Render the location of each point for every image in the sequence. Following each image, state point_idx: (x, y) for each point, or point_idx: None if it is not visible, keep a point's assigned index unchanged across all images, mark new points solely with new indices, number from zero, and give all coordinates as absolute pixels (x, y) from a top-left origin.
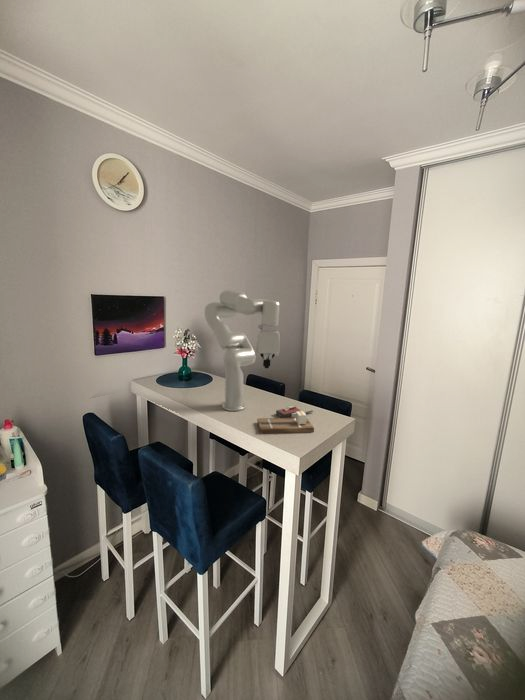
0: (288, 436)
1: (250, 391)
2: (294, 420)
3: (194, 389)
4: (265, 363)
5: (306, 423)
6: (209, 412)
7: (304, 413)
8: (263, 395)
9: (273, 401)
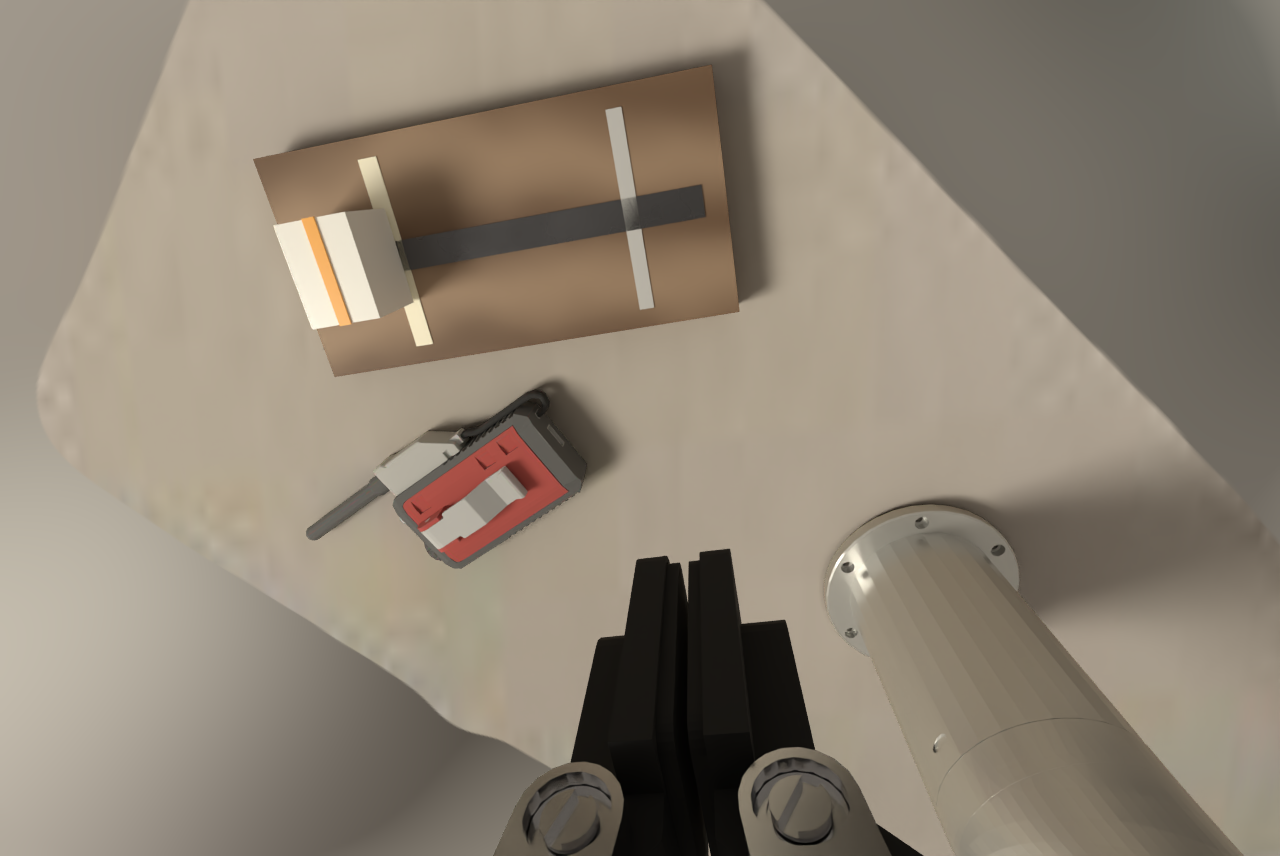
0: (474, 41)
1: None
2: (426, 303)
3: None
4: (742, 659)
5: None
6: (1123, 468)
7: (299, 273)
8: None
9: None
